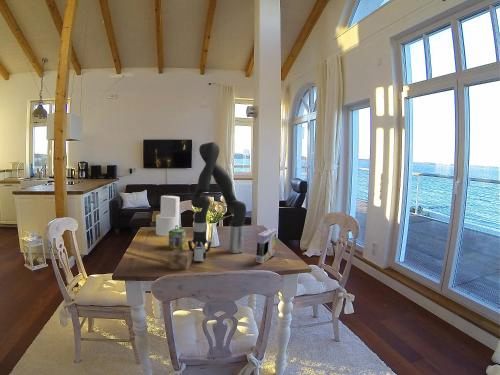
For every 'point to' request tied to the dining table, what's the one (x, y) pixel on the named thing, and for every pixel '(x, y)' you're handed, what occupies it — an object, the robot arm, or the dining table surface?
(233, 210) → the robot arm
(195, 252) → the block
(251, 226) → the dining table surface
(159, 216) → the white stepped tower
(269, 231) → the cake pan box
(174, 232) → the green tin canister
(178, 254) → the walnut box
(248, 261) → the dining table surface
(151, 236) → the dining table surface
